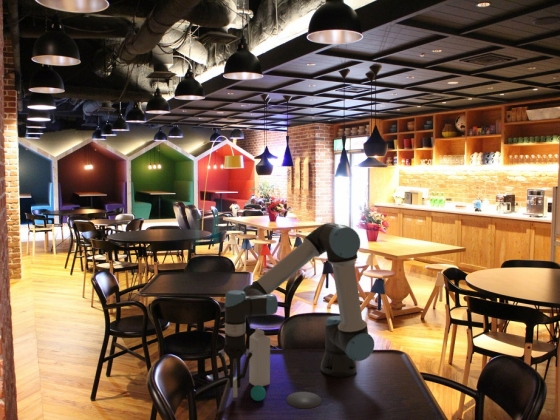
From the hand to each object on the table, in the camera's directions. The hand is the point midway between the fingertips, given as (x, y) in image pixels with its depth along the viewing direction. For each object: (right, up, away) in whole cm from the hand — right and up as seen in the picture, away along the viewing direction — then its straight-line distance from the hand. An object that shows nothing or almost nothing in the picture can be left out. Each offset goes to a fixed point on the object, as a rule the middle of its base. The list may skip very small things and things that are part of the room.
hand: (235, 395), depth 182 cm
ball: (+8, +1, 0) cm, 9 cm away
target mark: (+25, -2, +1) cm, 26 cm away
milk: (+8, -1, +15) cm, 17 cm away
